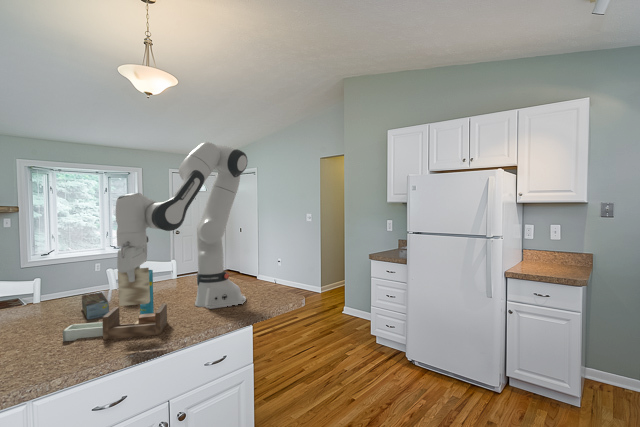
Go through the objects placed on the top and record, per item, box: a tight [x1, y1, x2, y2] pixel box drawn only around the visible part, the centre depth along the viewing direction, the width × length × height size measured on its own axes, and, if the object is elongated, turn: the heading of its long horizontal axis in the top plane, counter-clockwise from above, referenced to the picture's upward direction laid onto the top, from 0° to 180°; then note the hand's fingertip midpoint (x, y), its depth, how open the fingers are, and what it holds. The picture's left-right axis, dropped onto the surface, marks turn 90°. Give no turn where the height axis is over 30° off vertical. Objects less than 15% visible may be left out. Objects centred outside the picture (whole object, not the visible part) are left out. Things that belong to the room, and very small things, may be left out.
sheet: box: [117, 267, 150, 307], centre depth 114 cm, size 9×2×12 cm, turn 104°
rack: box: [101, 302, 168, 340], centre depth 117 cm, size 18×11×8 cm, turn 104°
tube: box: [139, 269, 155, 316], centre depth 133 cm, size 7×5×19 cm, turn 72°
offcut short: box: [138, 312, 156, 324], centre depth 120 cm, size 6×4×2 cm
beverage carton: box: [81, 291, 110, 320], centre depth 139 cm, size 8×19×7 cm, turn 40°
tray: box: [62, 321, 103, 342], centre depth 114 cm, size 12×6×4 cm, turn 104°
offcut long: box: [134, 320, 156, 325], centre depth 120 cm, size 7×4×2 cm, turn 104°
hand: (134, 280), depth 114 cm, fingers closed on sheet, 2 cm apart
